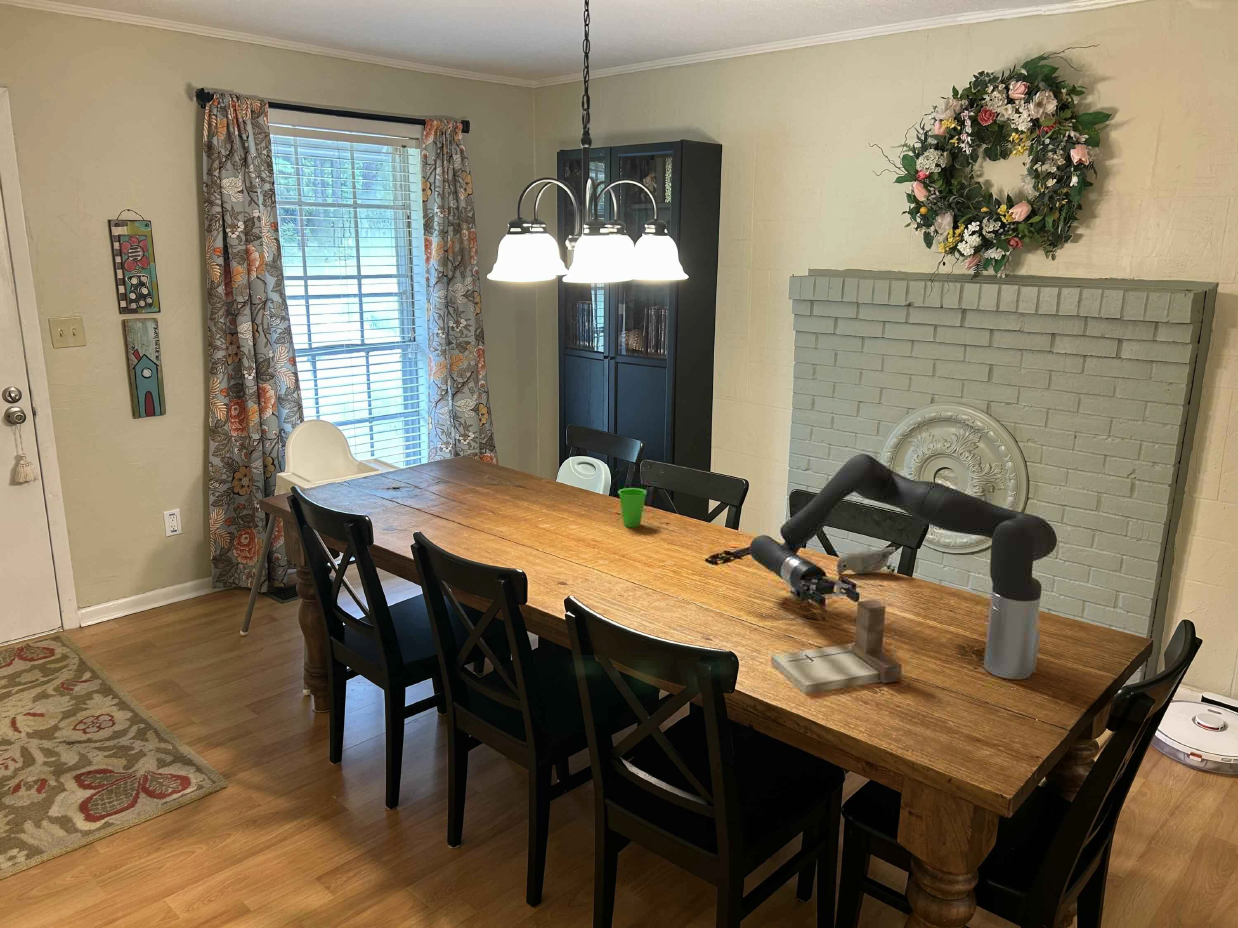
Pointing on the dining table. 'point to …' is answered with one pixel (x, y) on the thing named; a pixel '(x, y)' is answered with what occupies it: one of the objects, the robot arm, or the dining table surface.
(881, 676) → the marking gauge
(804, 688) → the maple board
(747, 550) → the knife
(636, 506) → the cup
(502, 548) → the dining table surface
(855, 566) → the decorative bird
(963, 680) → the dining table surface
